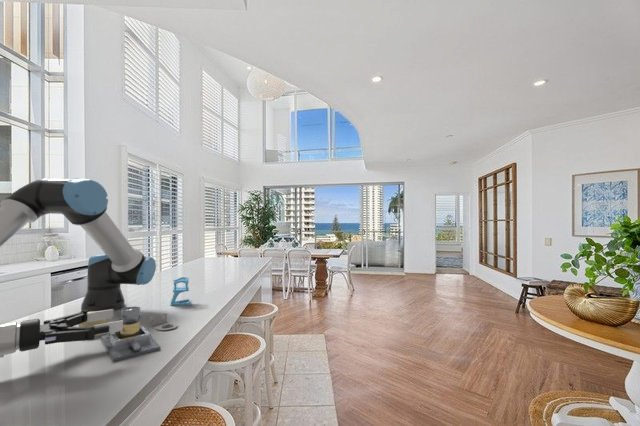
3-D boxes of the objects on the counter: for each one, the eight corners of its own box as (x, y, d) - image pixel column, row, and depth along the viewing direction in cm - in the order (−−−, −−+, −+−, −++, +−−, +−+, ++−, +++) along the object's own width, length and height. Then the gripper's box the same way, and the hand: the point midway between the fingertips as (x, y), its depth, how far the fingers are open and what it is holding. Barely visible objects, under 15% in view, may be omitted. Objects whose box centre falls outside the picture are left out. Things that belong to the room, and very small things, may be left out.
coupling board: (100, 339, 97) (101, 328, 97) (142, 330, 105) (143, 320, 105) (112, 362, 82) (113, 349, 83) (160, 349, 91) (160, 338, 91)
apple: (70, 335, 98) (75, 311, 102) (93, 337, 105) (97, 315, 109) (89, 330, 97) (94, 306, 101) (111, 332, 104) (115, 310, 108)
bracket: (163, 333, 104) (163, 323, 104) (148, 327, 109) (148, 317, 110) (181, 328, 109) (181, 318, 110) (165, 322, 115) (166, 313, 115)
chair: (170, 302, 140) (171, 276, 140) (190, 300, 143) (190, 275, 143) (170, 307, 133) (170, 279, 133) (190, 305, 136) (191, 278, 136)
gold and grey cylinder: (118, 340, 94) (119, 308, 94) (136, 336, 97) (137, 305, 98) (121, 346, 90) (123, 312, 90) (140, 341, 94) (141, 309, 94)
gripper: (19, 336, 85) (109, 320, 100) (16, 370, 68) (126, 344, 82) (20, 310, 86) (110, 297, 100) (17, 336, 68) (127, 317, 82)
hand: (117, 318), depth 91 cm, fingers open, 13 cm apart
